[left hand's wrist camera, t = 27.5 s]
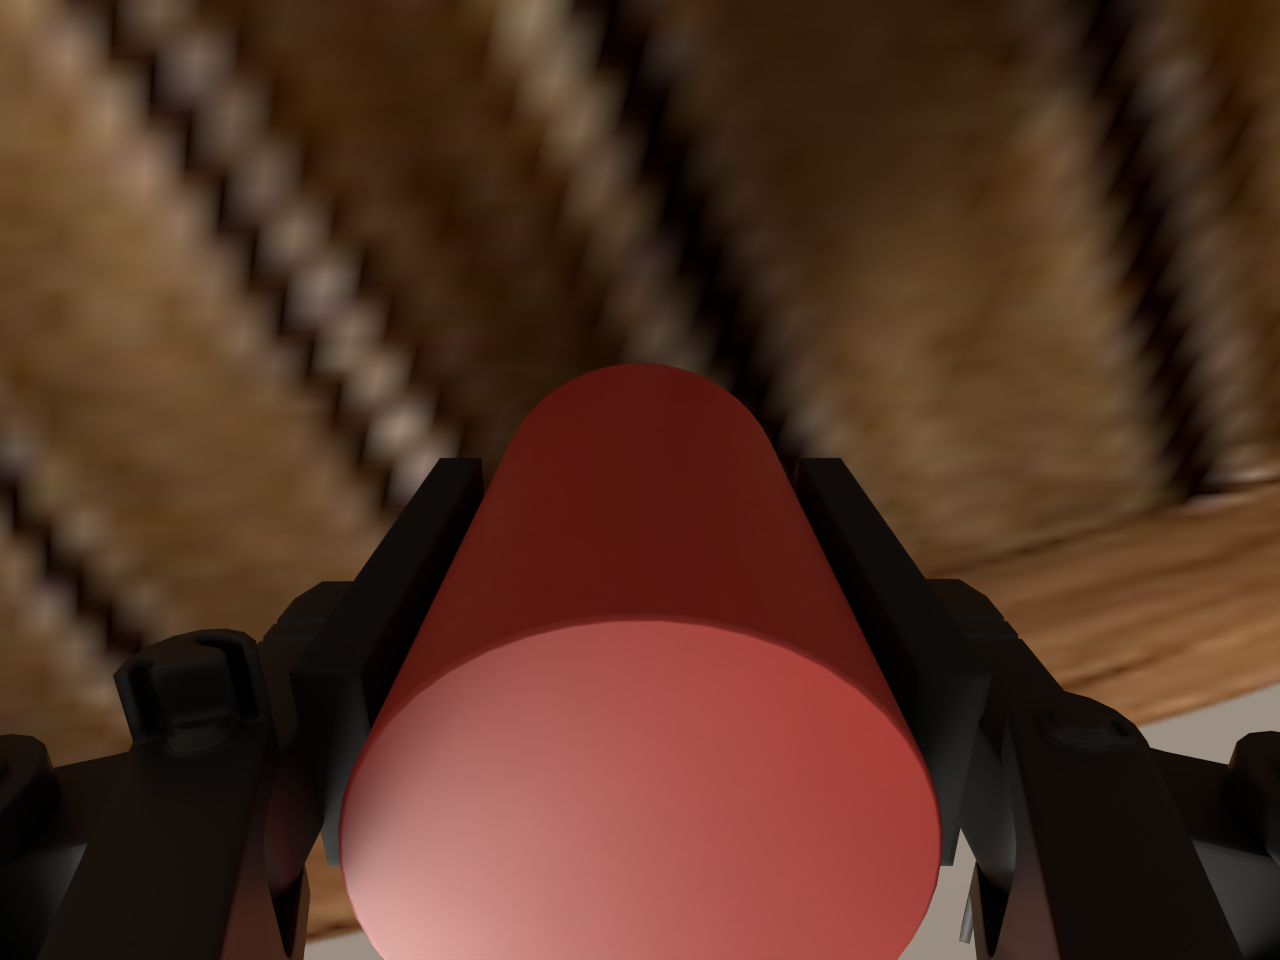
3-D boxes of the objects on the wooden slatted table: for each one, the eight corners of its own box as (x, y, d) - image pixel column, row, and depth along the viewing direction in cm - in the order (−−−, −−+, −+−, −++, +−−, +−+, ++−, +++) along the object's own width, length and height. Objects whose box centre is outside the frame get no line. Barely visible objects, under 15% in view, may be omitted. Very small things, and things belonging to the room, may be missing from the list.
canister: (623, 299, 14) (599, 480, 6) (840, 487, 16) (1072, 852, 7) (443, 515, 16) (221, 899, 8) (653, 667, 18) (667, 1135, 9)
